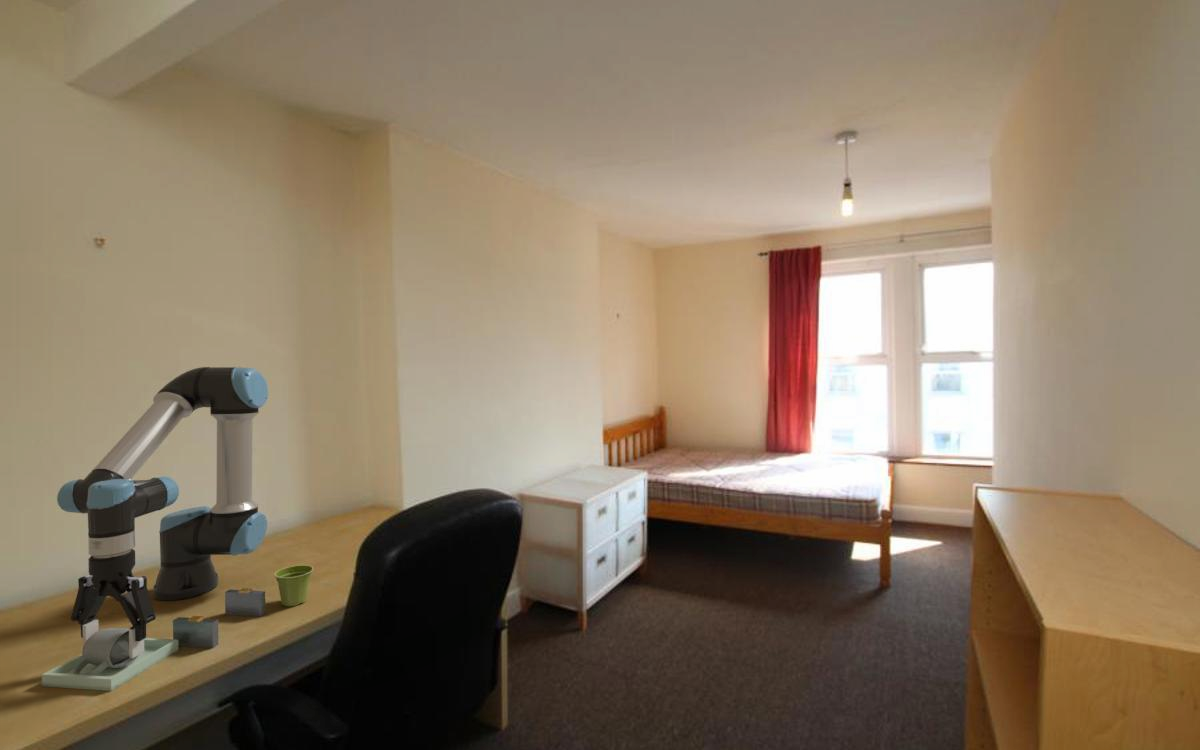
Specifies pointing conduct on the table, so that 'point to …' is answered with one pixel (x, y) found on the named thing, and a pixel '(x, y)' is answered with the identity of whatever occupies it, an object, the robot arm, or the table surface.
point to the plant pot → (293, 584)
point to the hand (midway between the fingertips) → (113, 653)
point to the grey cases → (206, 630)
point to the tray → (110, 676)
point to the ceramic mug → (106, 651)
